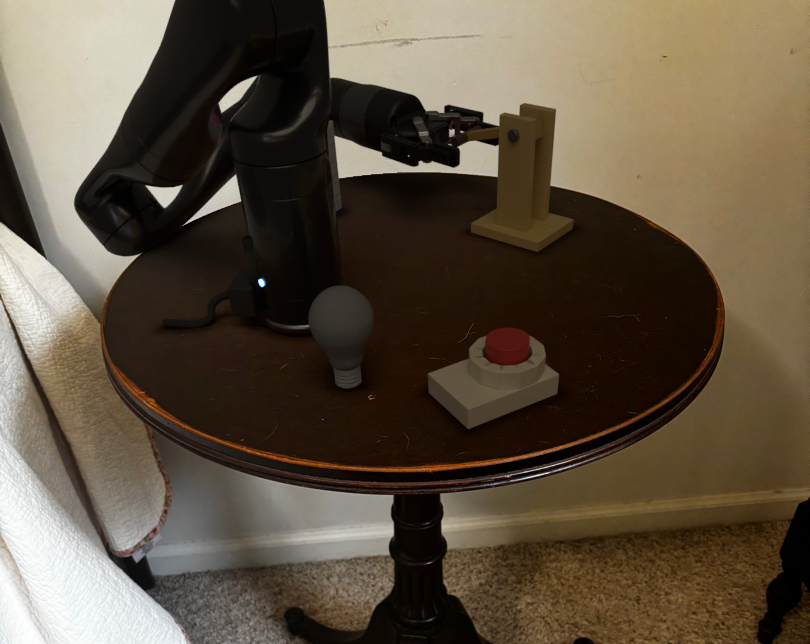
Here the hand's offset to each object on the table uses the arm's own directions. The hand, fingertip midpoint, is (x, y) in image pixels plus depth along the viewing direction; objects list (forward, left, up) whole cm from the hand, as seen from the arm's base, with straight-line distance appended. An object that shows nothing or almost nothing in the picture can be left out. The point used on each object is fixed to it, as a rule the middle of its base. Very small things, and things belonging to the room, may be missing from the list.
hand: (479, 147), depth 98 cm
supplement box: (-22, -1, -9) cm, 24 cm away
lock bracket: (+6, -4, -9) cm, 11 cm away
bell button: (+7, -39, -5) cm, 40 cm away
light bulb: (-8, -40, -9) cm, 41 cm away
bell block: (+6, -40, -9) cm, 41 cm away
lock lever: (+3, -2, +1) cm, 3 cm away
